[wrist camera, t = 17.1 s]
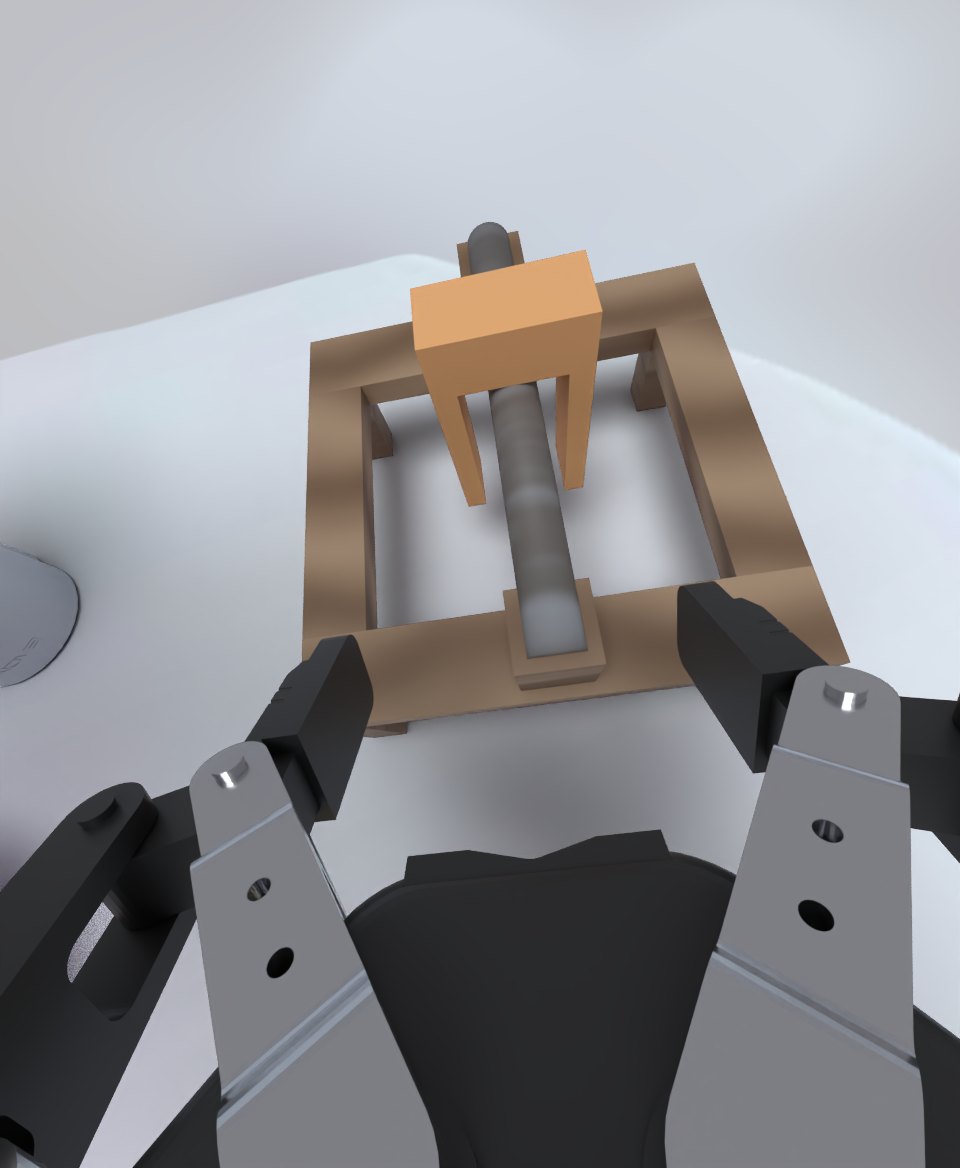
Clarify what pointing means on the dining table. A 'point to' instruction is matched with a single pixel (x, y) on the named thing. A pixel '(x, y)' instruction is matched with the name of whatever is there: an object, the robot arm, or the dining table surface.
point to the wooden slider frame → (548, 516)
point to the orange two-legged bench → (511, 351)
